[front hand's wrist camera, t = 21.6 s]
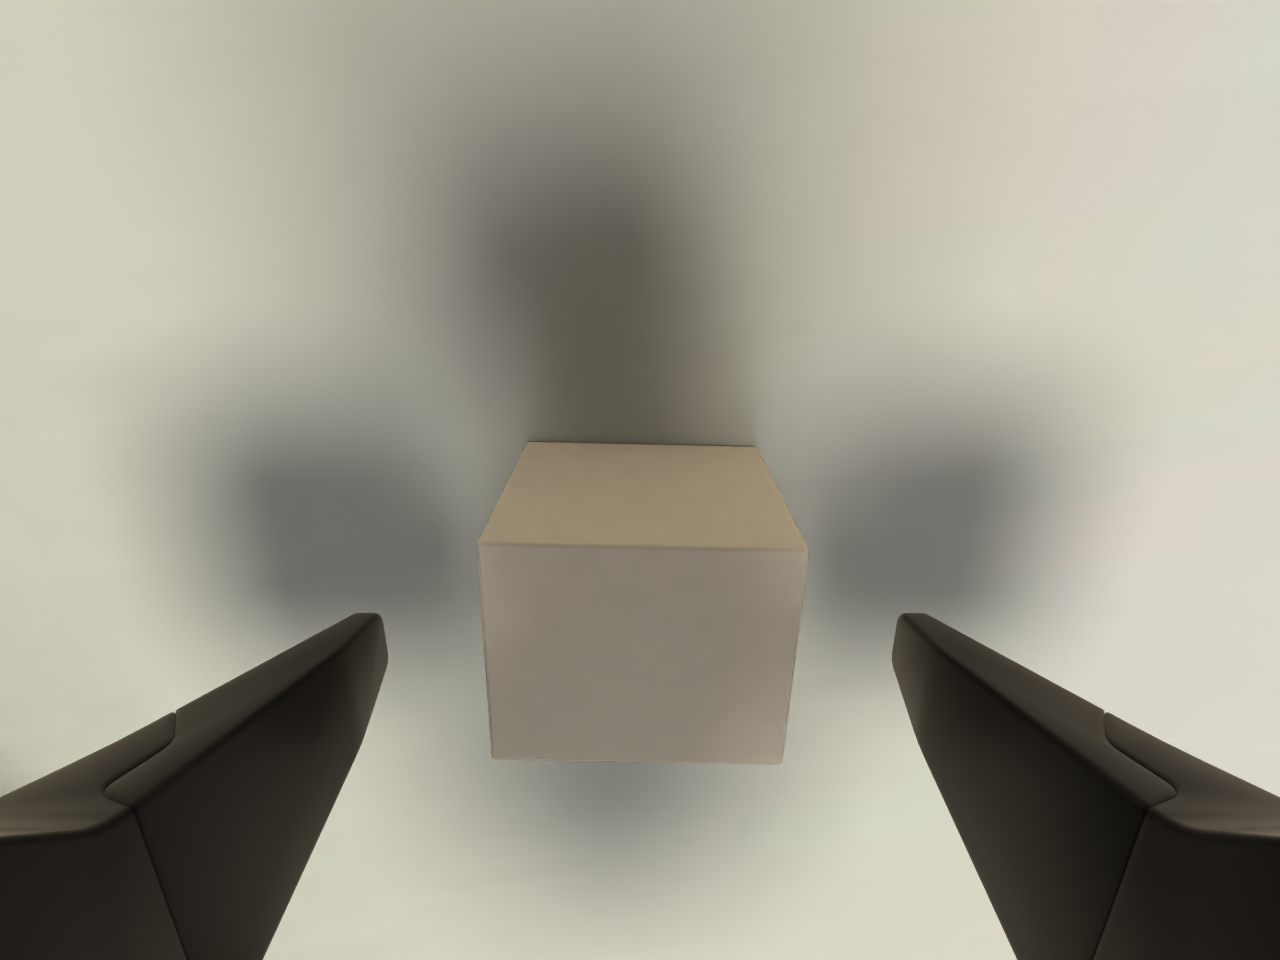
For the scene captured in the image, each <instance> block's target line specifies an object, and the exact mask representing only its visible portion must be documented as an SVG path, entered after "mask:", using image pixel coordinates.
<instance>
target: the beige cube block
mask: <svg viewBox="0 0 1280 960" xmlns="http://www.w3.org/2000/svg"><path fill="white" fill-rule="evenodd" d="M477 556H478V571H479V585H480V599H481V613H482V627H483V641H484V655H485V669H486V683H487V697H488V711H489V725H490V739H491V753H492V757H493V759H506V760H561V761H616V762H671V763H726V764H781V763H782V759H783V752H784V744H785V736H786V728H787V720H788V712H789V705H790V697H791V689H792V681H793V673H794V666H795V658H796V650H797V642H798V634H799V626H800V619H801V611H802V603H803V595H804V587H805V580H806V572H807V564H808V556H809V550H808V547H807V545H806V543H805V542H804V540H803V538H802V536H801V534H800V532H799V530H798V528H797V526H796V524H795V522H794V520H793V518H792V516H791V514H790V512H789V510H788V508H787V506H786V504H785V502H784V500H783V498H782V496H781V494H780V492H779V490H778V488H777V486H776V484H775V482H774V480H773V478H772V476H771V474H770V472H769V470H768V468H767V466H766V464H765V462H764V460H763V458H762V456H761V454H760V452H759V450H758V448H756V447H734V446H689V445H645V444H600V443H555V442H528V443H527V444H526V446H525V448H524V450H523V452H522V454H521V456H520V458H519V460H518V462H517V464H516V466H515V468H514V470H513V472H512V474H511V476H510V478H509V480H508V482H507V484H506V486H505V488H504V490H503V492H502V494H501V496H500V498H499V500H498V502H497V504H496V506H495V508H494V510H493V512H492V514H491V516H490V518H489V520H488V522H487V524H486V526H485V528H484V530H483V532H482V534H481V536H480V538H479V540H478V542H477Z"/></svg>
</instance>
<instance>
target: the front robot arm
mask: <svg viewBox="0 0 1280 960" xmlns="http://www.w3.org/2000/svg"><path fill="white" fill-rule="evenodd" d="M387 663H388V651H387V645H386V638H385V632H384V626H383V621H382V618H381V616H380V615H379V614H377V613H356V614H353V615H351V616H349V617H347V618H346V619H344V620H342V621H340V622H338V623H336V624H334V625H333V626H331V627H329V628H327V629H325V630H323V631H322V632H320V633H318V634H316V635H314V636H312V637H310V638H309V639H307V640H305V641H303V642H301V643H299V644H297V645H296V646H294V647H292V648H290V649H288V650H286V651H285V652H283V653H281V654H279V655H277V656H275V657H273V658H272V659H270V660H268V661H266V662H264V663H262V664H260V665H259V666H257V667H255V668H253V669H251V670H249V671H248V672H246V673H244V674H242V675H240V676H238V677H236V678H235V679H233V680H231V681H229V682H227V683H225V684H223V685H222V686H220V687H218V688H216V689H214V690H212V691H211V692H209V693H207V694H205V695H203V696H201V697H199V698H198V699H196V700H194V701H192V702H190V703H188V704H186V705H185V706H183V707H181V708H179V709H177V710H176V714H175V713H173V712H172V713H170V714H168V715H166V716H164V717H162V718H160V719H159V720H157V721H155V722H153V723H151V724H149V725H147V726H145V727H144V728H142V729H140V730H138V731H136V732H134V733H132V734H130V735H128V736H126V737H124V738H122V739H121V740H119V741H117V742H115V743H113V744H111V745H109V746H107V747H105V748H102V749H100V750H98V751H96V752H94V753H92V754H90V755H88V756H86V757H84V758H82V759H80V760H78V761H76V762H74V763H72V764H70V765H67V766H65V767H63V768H61V769H59V770H57V771H55V772H53V773H51V774H48V775H46V776H44V777H42V778H40V779H38V780H36V781H34V782H32V783H29V784H27V785H25V786H23V787H21V788H19V789H17V790H15V791H13V792H11V793H8V794H6V795H4V796H2V797H0V960H263V958H264V956H265V954H266V951H267V949H268V947H269V945H270V943H271V940H272V938H273V936H274V934H275V932H276V930H277V927H278V925H279V923H280V921H281V919H282V917H283V914H284V912H285V910H286V908H287V906H288V903H289V901H290V899H291V897H292V895H293V893H294V890H295V888H296V886H297V884H298V882H299V880H300V877H301V875H302V873H303V871H304V869H305V866H306V864H307V862H308V860H309V858H310V856H311V853H312V851H313V849H314V847H315V845H316V842H317V840H318V838H319V836H320V834H321V832H322V829H323V827H324V825H325V823H326V821H327V819H328V816H329V814H330V812H331V810H332V808H333V805H334V803H335V801H336V799H337V797H338V795H339V792H340V790H341V788H342V786H343V784H344V781H345V779H346V777H347V775H348V773H349V771H350V768H351V766H352V764H353V762H354V760H355V758H356V755H357V753H358V751H359V748H360V746H361V744H362V741H363V738H364V735H365V732H366V730H367V726H368V723H369V720H370V717H371V714H372V711H373V708H374V705H375V702H376V699H377V696H378V693H379V689H380V686H381V683H382V680H383V677H384V674H385V671H386V668H387ZM892 663H893V668H894V671H895V674H896V677H897V680H898V683H899V686H900V689H901V693H902V696H903V699H904V702H905V705H906V708H907V711H908V714H909V717H910V720H911V723H912V726H913V730H914V732H915V735H916V738H917V741H918V744H919V746H920V748H921V751H922V753H923V755H924V758H925V760H926V762H927V764H928V766H929V768H930V771H931V773H932V775H933V777H934V779H935V781H936V784H937V786H938V788H939V790H940V792H941V795H942V797H943V799H944V801H945V803H946V805H947V808H948V810H949V812H950V814H951V816H952V819H953V821H954V823H955V825H956V827H957V829H958V832H959V834H960V836H961V838H962V840H963V842H964V845H965V847H966V849H967V851H968V853H969V856H970V858H971V860H972V862H973V864H974V866H975V869H976V871H977V873H978V875H979V877H980V880H981V882H982V884H983V886H984V888H985V890H986V893H987V895H988V897H989V899H990V901H991V903H992V906H993V908H994V910H995V912H996V914H997V917H998V919H999V921H1000V923H1001V925H1002V927H1003V930H1004V932H1005V934H1006V936H1007V938H1008V941H1009V943H1010V945H1011V947H1012V949H1013V951H1014V954H1015V956H1016V958H1017V960H1280V797H1278V796H1276V795H1274V794H1272V793H1269V792H1267V791H1265V790H1263V789H1261V788H1259V787H1257V786H1255V785H1253V784H1251V783H1248V782H1246V781H1244V780H1242V779H1240V778H1238V777H1236V776H1234V775H1232V774H1229V773H1227V772H1225V771H1223V770H1221V769H1219V768H1217V767H1215V766H1213V765H1210V764H1208V763H1206V762H1204V761H1202V760H1200V759H1198V758H1196V757H1194V756H1192V755H1190V754H1188V753H1186V752H1184V751H1182V750H1180V749H1178V748H1175V747H1173V746H1171V745H1169V744H1167V743H1165V742H1163V741H1161V740H1159V739H1158V738H1156V737H1154V736H1152V735H1150V734H1148V733H1146V732H1144V731H1142V730H1140V729H1138V728H1136V727H1135V726H1133V725H1131V724H1129V723H1127V722H1125V721H1123V720H1121V719H1120V718H1118V717H1116V716H1114V715H1112V714H1110V713H1108V712H1107V713H1105V714H1104V710H1103V709H1101V708H1099V707H1097V706H1095V705H1094V704H1092V703H1090V702H1088V701H1086V700H1084V699H1082V698H1081V697H1079V696H1077V695H1075V694H1073V693H1071V692H1070V691H1068V690H1066V689H1064V688H1062V687H1060V686H1058V685H1057V684H1055V683H1053V682H1051V681H1049V680H1047V679H1045V678H1044V677H1042V676H1040V675H1038V674H1036V673H1034V672H1032V671H1031V670H1029V669H1027V668H1025V667H1023V666H1021V665H1020V664H1018V663H1016V662H1014V661H1012V660H1010V659H1008V658H1007V657H1005V656H1003V655H1001V654H999V653H997V652H995V651H994V650H992V649H990V648H988V647H986V646H984V645H983V644H981V643H979V642H977V641H975V640H973V639H971V638H970V637H968V636H966V635H964V634H962V633H960V632H958V631H957V630H955V629H953V628H951V627H949V626H947V625H946V624H944V623H942V622H940V621H938V620H936V619H934V618H933V617H931V616H929V615H927V614H924V613H903V614H901V615H900V616H899V618H898V621H897V626H896V632H895V638H894V645H893V651H892Z"/></svg>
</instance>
